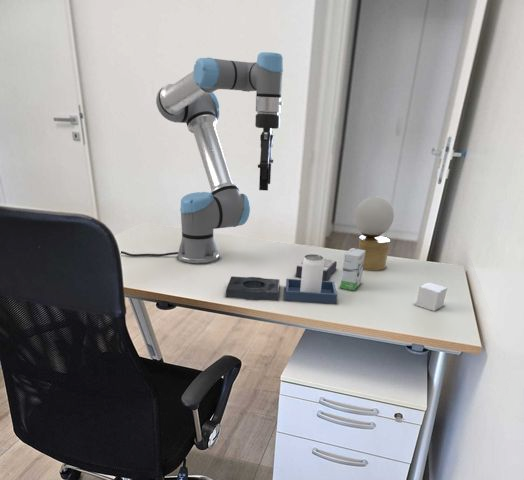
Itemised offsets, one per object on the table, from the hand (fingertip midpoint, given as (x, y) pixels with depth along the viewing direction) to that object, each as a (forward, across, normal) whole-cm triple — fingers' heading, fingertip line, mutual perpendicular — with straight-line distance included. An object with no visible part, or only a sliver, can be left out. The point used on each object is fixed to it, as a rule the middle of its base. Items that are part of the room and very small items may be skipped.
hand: (264, 186), depth 144 cm
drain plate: (+29, -21, +1) cm, 36 cm away
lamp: (+29, +15, -40) cm, 52 cm away
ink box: (+29, -10, -31) cm, 44 cm away
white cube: (+29, -23, -54) cm, 65 cm away
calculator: (+29, +1, -20) cm, 35 cm away
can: (+28, -21, -17) cm, 39 cm away
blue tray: (+29, -21, -17) cm, 39 cm away
